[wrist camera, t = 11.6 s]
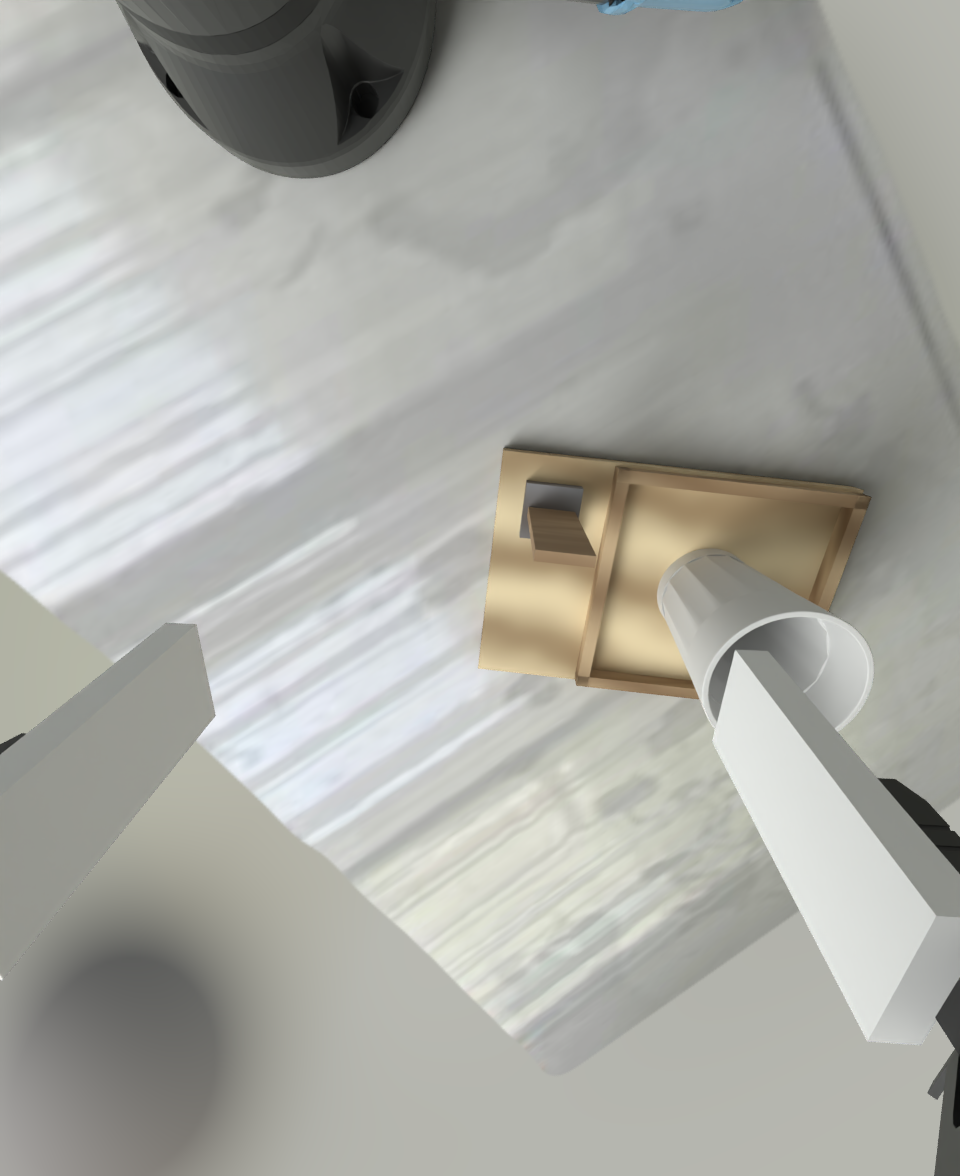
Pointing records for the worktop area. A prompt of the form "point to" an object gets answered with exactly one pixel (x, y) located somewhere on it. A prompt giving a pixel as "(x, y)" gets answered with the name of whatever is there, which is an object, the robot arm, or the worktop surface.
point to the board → (639, 559)
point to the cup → (761, 634)
